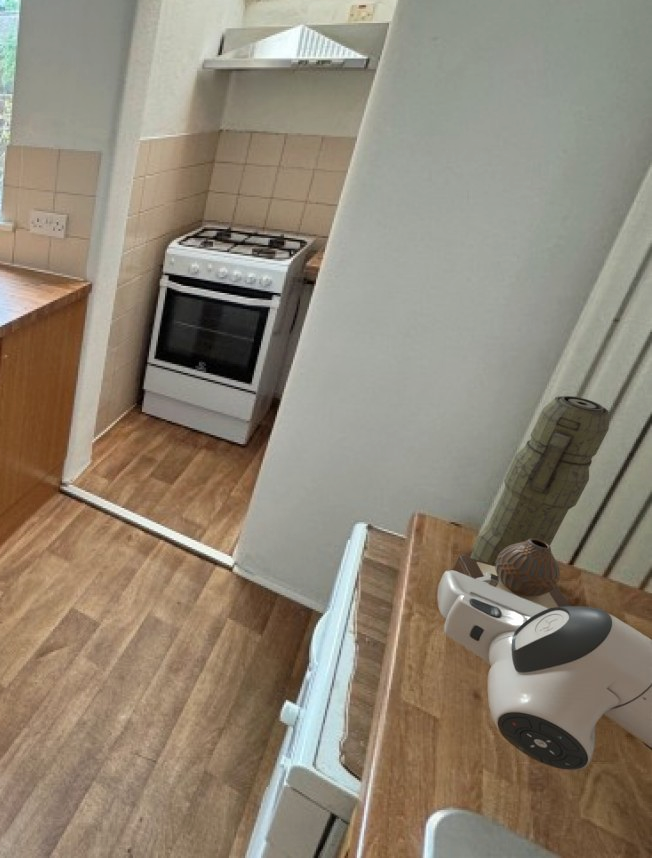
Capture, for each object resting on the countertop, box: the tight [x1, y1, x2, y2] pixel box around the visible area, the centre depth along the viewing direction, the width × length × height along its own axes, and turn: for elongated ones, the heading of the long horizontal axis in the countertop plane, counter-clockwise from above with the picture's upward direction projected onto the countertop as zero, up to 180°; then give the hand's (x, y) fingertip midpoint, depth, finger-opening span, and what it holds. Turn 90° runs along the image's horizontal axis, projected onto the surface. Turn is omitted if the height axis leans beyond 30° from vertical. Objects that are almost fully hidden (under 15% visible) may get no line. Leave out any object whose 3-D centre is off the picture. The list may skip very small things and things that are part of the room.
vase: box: [495, 538, 561, 596], centre depth 95 cm, size 7×7×9 cm
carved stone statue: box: [469, 395, 610, 564], centre depth 102 cm, size 9×12×35 cm
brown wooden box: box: [452, 554, 571, 608], centre depth 98 cm, size 12×10×7 cm
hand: (534, 594), depth 87 cm, fingers open, 8 cm apart
